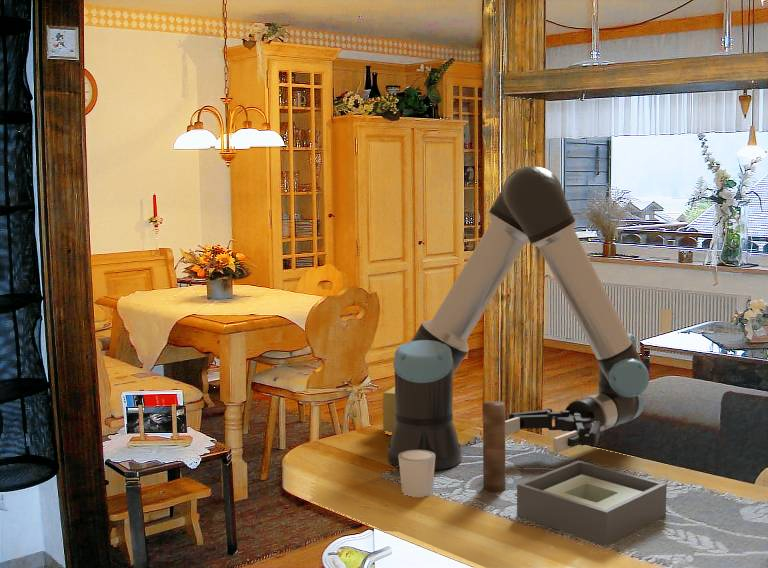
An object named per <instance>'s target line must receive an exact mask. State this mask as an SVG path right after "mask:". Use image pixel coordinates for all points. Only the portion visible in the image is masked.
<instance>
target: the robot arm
mask: <svg viewBox="0 0 768 568" xmlns="http://www.w3.org/2000/svg"><path fill="white" fill-rule="evenodd" d="M487 213H488V218H489V225H488V227H487V228H486V230H485V231H484V233H483V235H482V237H481V238H480V240H479V241H478V242H477V245H476V246H475V248H474V249H473V252H472V253H471V255H470V256H469V258H468V259H467V261H466V263H465V264H464V266H463V268H462V269H461V271H460V273H459V275H458V276H457V278H456V280H455V281H454V283H453V285H452V286H451V287H450V289H449V291H448V292H447V294H446V295H445V298H444V300H443V301H442V303H441V304H440V306H439V308H438V309H437V311H436V313H435V315H433V318H431V319H428V320H424V321H422V322H421V324H420V325H419V327H418V329H417V331H416V332H415V334H414V335H413V337H412V339H411V340H410V341H408V342H407V343H402V344H400V345H399V346H398V347H397V349H396V350H395V351H394V358H393V363H392V364H393V368H394V386H395V426H394V429H393V433H392V435H391V438H390V442H389V444H388V446H387V450H386V452H387V454H386V455H387V457H386V458H388V459H387V462H388V461H389V462H390V463H392V464H393V465H392V464H391V465H392V466H394V465H396V466H398V467H397V468H399V458H398V454H400V453H401V452H404V451H408V450H427V451H430V452H433V453H434V454H435V456H436V457H435V469H434V471H439V470H440V471H441V470H446V469H449V468H453V467H455V466H457V465H459V464H460V463H461V462H462V459H463V449H462V446H461V443H459V438H458V434H457V430H456V428H455V427H456V426H455V425H454V424H455V423H454V417H453V414H454V413H453V408H454V407H453V405H454V404H453V403H454V401H453V400H454V397H453V392H454V391H453V384H454V375H455V374H456V372H457V370H458V368H459V367H460V365H461V363H462V362H463V360H464V359H465V357H466V355H467V353H468V352H469V350H470V348H469V344H468V339H469V337H470V335H471V334H472V332H473V330H474V329H475V327H476V325H477V324H478V323H479V321H480V319H481V317H482V316H483V315H484V312H485V311H486V309H487V307H488V306H489V305H490V302H492V299H493V298H494V297H495V294H496V293H497V291H498V290H499V288H500V287H501V285H502V283H503V281H504V280H505V279H506V276H507V275H508V273H509V272H510V270H511V268H512V267H513V265H514V264H515V262H516V261H517V259H518V257H519V256H520V254H521V252H522V250H523V249H524V247H525V245H527V244H529V243H530V245H531V246H535V247H537V248H539V251H540V253H541V255H542V256H543V258H544V260H545V262H546V264H547V266H548V268H549V270H550V273H552V275H553V277H554V280H555V282H556V284H557V285H558V287H559V289H560V290H561V293H562V295H563V297H564V298H565V300H566V303H567V304H568V306H569V309H570V310H571V312H572V314H573V316H574V317H575V320H576V321H577V324H578V325H579V327H580V329H581V331H582V333H583V335H584V337H585V339H586V341H587V343H588V344H589V346H590V349H591V350H592V352H593V355H594V356H595V358H596V360H597V362H598V383H597V384H598V393H594V394H591V395H588V396H585V397H583V398H580V399H576V400H573V401H572V402H570V403H569V404H568V405H567V406H566V408H565V409H564V410H560V411H553V409H552V408H545V409H541V410H530V411H523V412H521V411H520V412H511V413H508V419H507V420H506V419H505V437H507V436H509V435H512V434H515V433H516V434H517V433H518V432H520V431H521V430H526V429H527V430H528V429H530V430H531V429H534V430H535V429H548V430H549V431H562V432H565V433H564V434H561V435H558V436H556V437H553V439H552V440H553V443H552V445H553V451H552V452H553V453H556V454H558V453H562V452H563V451H566V450H569V449H571V448H574V447H576V446H586V445H587V444H588V446H589V447H592V448H594V447H596V446H597V444H598V441H599V439H600V437H601V436H602V435H604V434H605V431H606V430H608V429H611V428H614V427H617V426H619V425H621V424H622V425H623V424H627V423H630V422H631V421H632V420H635V419H636V418H638V417H639V416H640V415H641V414H642V413H643V410H644V406H645V400H644V398H643V396H642V395H643V394H642V393H644V392H645V391H646V389H647V388H648V386H649V383H650V373H649V370H648V368H647V366H646V364H645V363H644V362H643V360H642V359H641V357H640V355H639V354H638V353H639V352H638V351H637V346H636V336H634V334H631V333H628V332H627V330H626V328H625V326H624V324H623V322H622V320H621V318H620V316H619V314H618V312H617V310H616V308H615V307H614V305H613V303H612V300H611V299H610V297H609V295H608V293H607V291H606V289H605V287H604V285H603V283H602V281H601V279H600V277H599V275H598V273H597V271H596V269H595V268H594V266H593V263H592V262H591V260H590V258H589V255H588V254H587V252H586V250H585V248H584V246H583V244H582V242H581V241H580V239H579V237H578V234H577V232H576V230H575V226H576V223H577V221H576V218H575V217H574V215H573V213H572V211H571V208H570V206H569V203H568V201H567V198H566V195H565V192H564V188H563V186H562V184H561V182H560V180H559V178H558V177H557V176H556V175H555V174H554V173H553V172H552V171H550V170H549V169H546V168H544V167H541V166H535V165H530V166H529V165H527V166H524V167H521V168H520V167H519V168H517V169H515V171H514V172H512V173H510V175H509V176H508V177H507V178H506V180H505V182H504V183H503V185H502V189H501V190H500V192H499V194H498V195H497V197H496V199H495V201H494V202H493V204H492V206H491V207H490V209H489V211H488V212H487ZM553 420H554V425H553ZM389 462H388V463H389ZM390 463H389V464H390ZM396 466H395V467H396Z"/></svg>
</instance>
